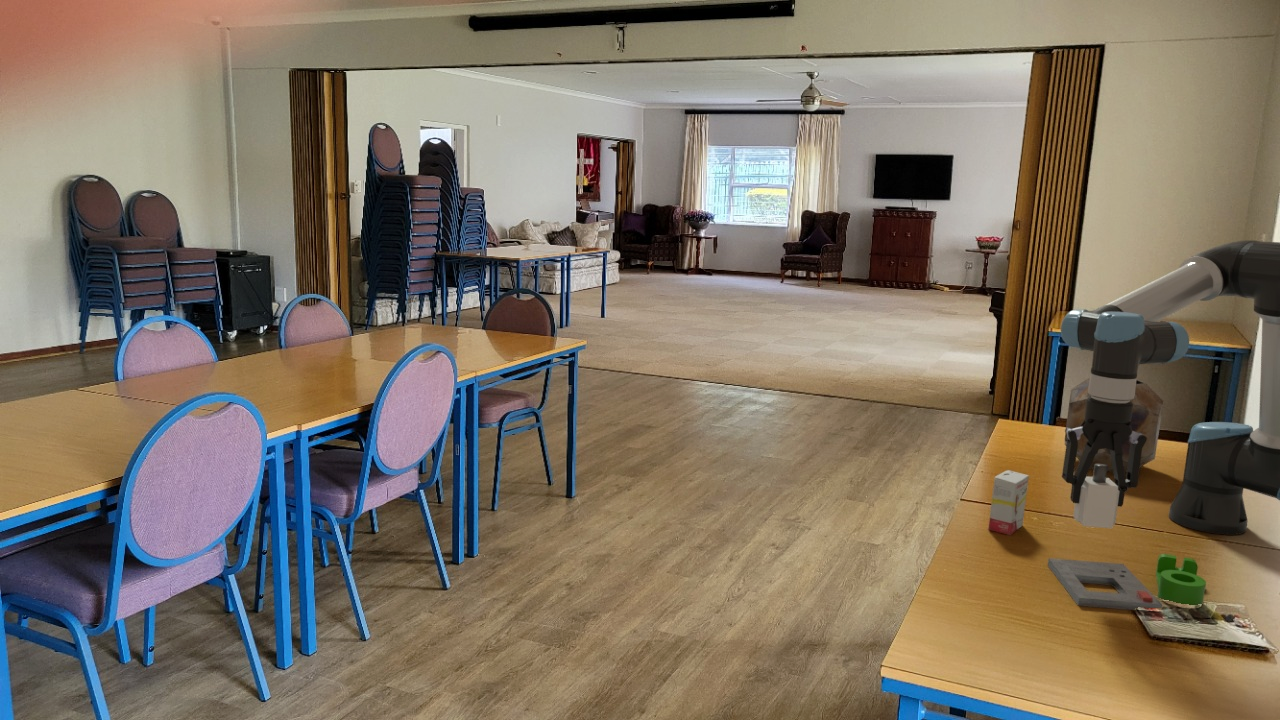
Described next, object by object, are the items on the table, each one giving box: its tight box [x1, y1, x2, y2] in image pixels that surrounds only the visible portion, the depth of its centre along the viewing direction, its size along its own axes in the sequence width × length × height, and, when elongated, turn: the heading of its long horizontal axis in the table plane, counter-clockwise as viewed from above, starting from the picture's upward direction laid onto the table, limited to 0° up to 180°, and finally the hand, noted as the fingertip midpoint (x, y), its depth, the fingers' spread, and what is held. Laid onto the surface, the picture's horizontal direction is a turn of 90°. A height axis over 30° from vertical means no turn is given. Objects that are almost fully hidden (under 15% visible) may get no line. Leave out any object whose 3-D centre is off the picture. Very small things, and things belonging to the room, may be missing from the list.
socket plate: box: [1047, 557, 1163, 611], centre depth 175 cm, size 14×18×2 cm
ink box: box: [987, 469, 1030, 536], centre depth 204 cm, size 9×5×12 cm, turn 139°
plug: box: [1079, 464, 1118, 529], centre depth 173 cm, size 5×5×11 cm
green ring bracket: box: [1155, 553, 1207, 605], centre depth 174 cm, size 15×7×5 cm, turn 155°
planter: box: [1064, 377, 1164, 473], centre depth 252 cm, size 22×24×24 cm
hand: (1093, 520), depth 174 cm, fingers closed on plug, 5 cm apart
